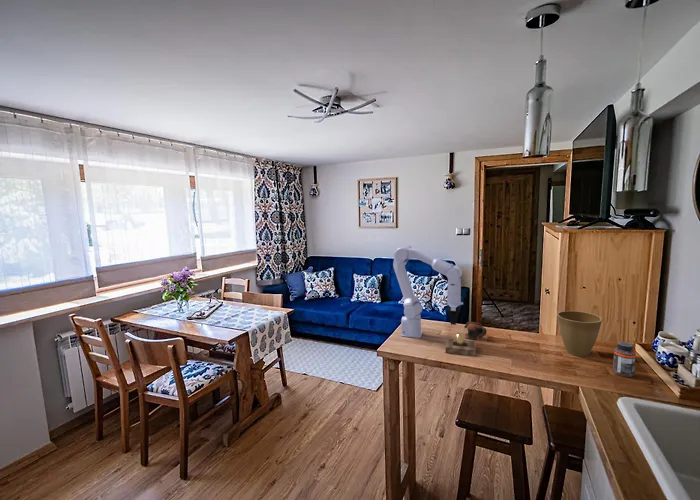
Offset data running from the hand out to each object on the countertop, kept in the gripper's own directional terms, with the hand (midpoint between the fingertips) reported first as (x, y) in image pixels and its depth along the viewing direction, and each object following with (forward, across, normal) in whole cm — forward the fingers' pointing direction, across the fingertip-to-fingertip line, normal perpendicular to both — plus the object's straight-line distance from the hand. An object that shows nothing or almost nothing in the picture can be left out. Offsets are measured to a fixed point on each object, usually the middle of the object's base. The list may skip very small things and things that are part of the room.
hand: (453, 321), depth 147 cm
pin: (+10, -8, -3) cm, 13 cm away
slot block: (+10, -8, -3) cm, 13 cm away
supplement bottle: (+10, -13, -59) cm, 61 cm away
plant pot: (+10, +2, -49) cm, 50 cm away
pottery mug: (+10, +9, -10) cm, 17 cm away
